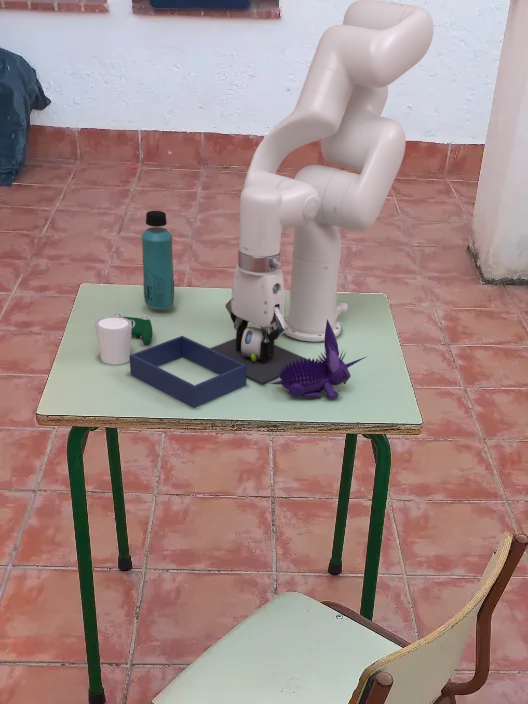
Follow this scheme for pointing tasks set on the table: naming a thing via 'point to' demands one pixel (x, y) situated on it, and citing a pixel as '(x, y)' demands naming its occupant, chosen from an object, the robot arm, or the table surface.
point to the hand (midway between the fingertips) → (254, 353)
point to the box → (193, 395)
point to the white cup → (114, 339)
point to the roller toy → (251, 343)
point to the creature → (317, 372)
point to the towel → (259, 362)
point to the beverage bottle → (157, 262)
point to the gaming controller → (140, 328)
